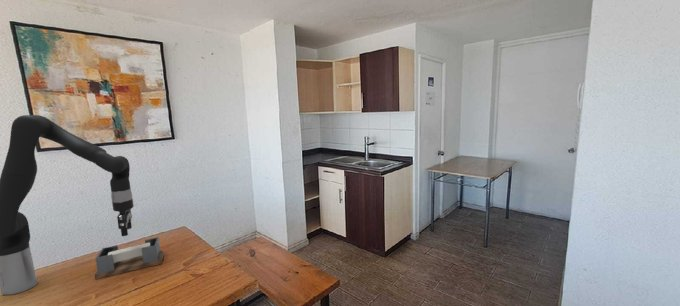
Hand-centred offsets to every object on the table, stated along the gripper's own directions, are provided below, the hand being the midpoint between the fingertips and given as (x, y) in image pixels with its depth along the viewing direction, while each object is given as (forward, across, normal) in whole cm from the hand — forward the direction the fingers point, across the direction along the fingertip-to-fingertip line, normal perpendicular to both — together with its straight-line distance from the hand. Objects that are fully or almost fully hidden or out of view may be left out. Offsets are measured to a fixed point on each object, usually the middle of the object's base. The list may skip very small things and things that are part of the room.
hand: (126, 232), depth 129 cm
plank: (+17, 0, 0) cm, 17 cm away
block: (+12, 0, 0) cm, 13 cm away
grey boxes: (+15, 0, 0) cm, 15 cm away
